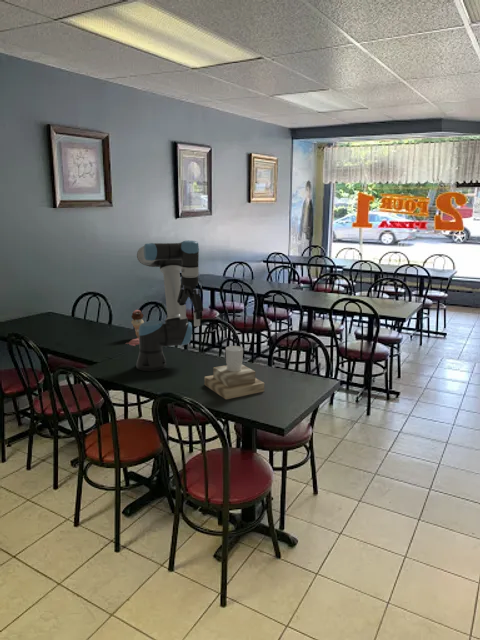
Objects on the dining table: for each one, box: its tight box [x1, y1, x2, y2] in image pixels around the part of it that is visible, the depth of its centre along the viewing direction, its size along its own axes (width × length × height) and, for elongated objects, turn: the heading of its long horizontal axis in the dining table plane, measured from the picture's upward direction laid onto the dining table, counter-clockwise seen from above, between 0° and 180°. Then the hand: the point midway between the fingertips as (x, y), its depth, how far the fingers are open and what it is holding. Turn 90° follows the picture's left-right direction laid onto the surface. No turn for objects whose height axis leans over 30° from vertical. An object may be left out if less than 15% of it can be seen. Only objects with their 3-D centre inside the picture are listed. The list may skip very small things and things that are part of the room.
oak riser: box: [204, 364, 265, 400], centre depth 229 cm, size 20×20×9 cm
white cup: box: [225, 345, 244, 372], centre depth 226 cm, size 8×8×10 cm
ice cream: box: [125, 309, 145, 347], centre depth 300 cm, size 16×16×18 cm
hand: (189, 322), depth 227 cm, fingers open, 13 cm apart
